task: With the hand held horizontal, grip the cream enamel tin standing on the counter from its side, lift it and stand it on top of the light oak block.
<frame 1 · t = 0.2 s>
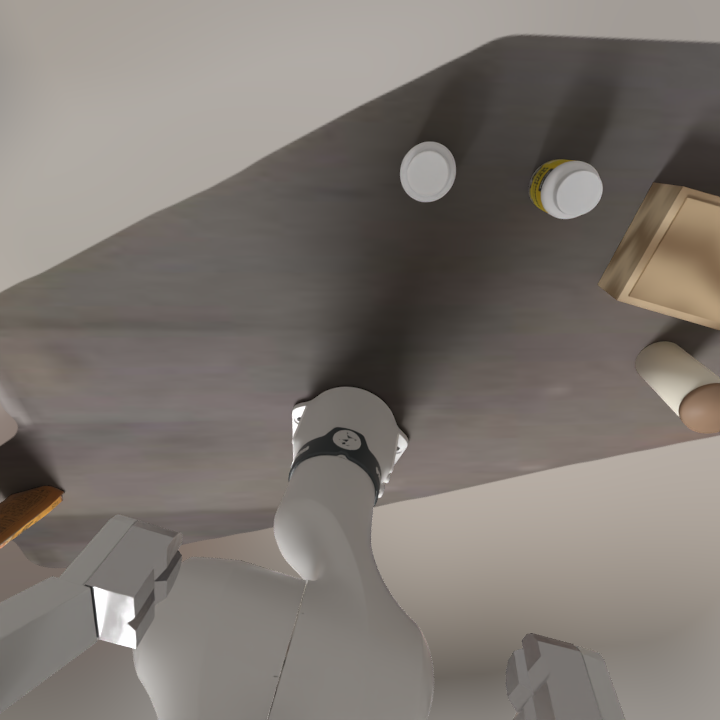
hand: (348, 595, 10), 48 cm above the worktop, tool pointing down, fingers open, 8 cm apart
oak block: (673, 251, 48), on the worktop
supplement bottle: (427, 169, 48), on the worktop
cream tin: (658, 360, 54), on the worktop
supplement bottle 2: (552, 185, 47), on the worktop
pancake mix bag: (34, 494, 86), on the worktop
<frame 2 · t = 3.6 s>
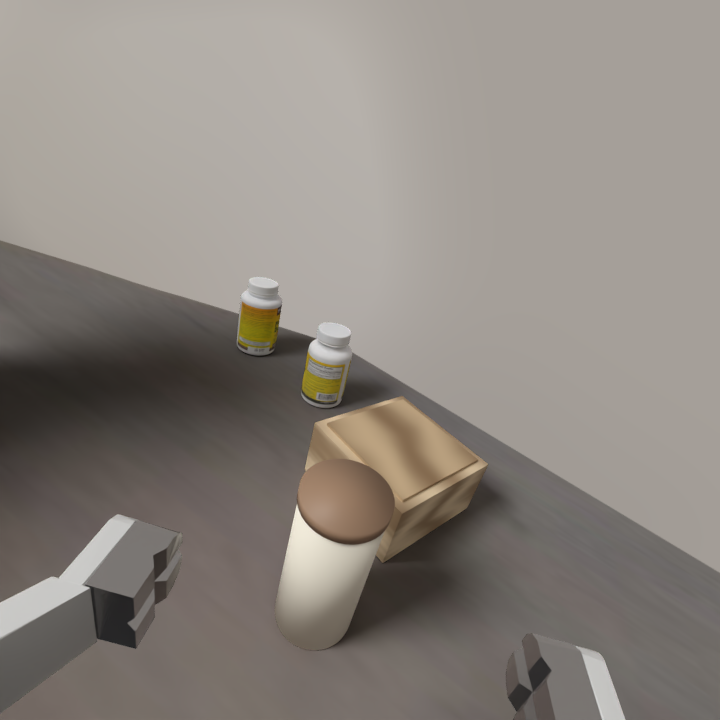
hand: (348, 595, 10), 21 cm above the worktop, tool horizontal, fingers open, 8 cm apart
oak block: (386, 488, 42), on the worktop
supplement bottle: (255, 349, 61), on the worktop
cream tin: (313, 608, 30), on the worktop
supplement bottle 2: (320, 398, 54), on the worktop
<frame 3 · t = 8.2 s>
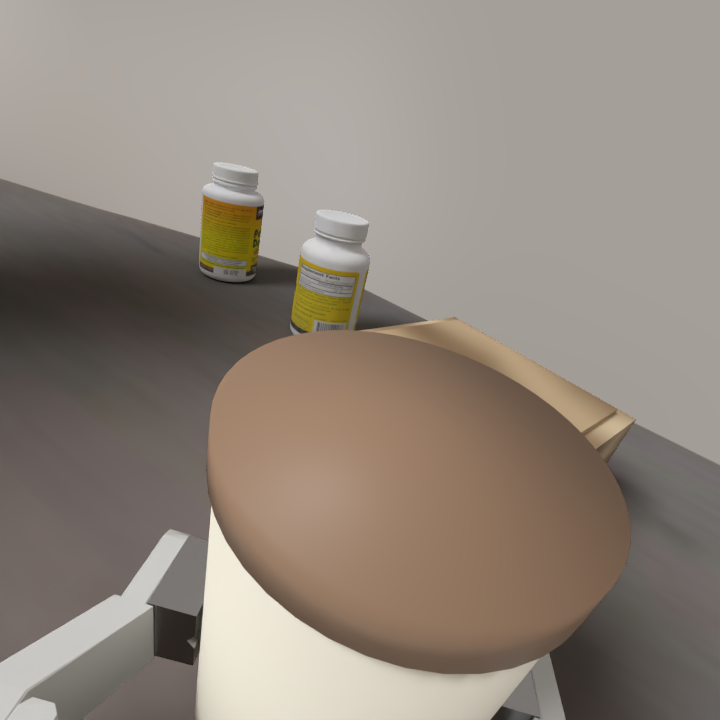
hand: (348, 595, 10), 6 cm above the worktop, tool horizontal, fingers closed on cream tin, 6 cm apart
oak block: (436, 467, 24), on the worktop
supplement bottle: (227, 276, 43), on the worktop
supplement bottle 2: (320, 336, 35), on the worktop
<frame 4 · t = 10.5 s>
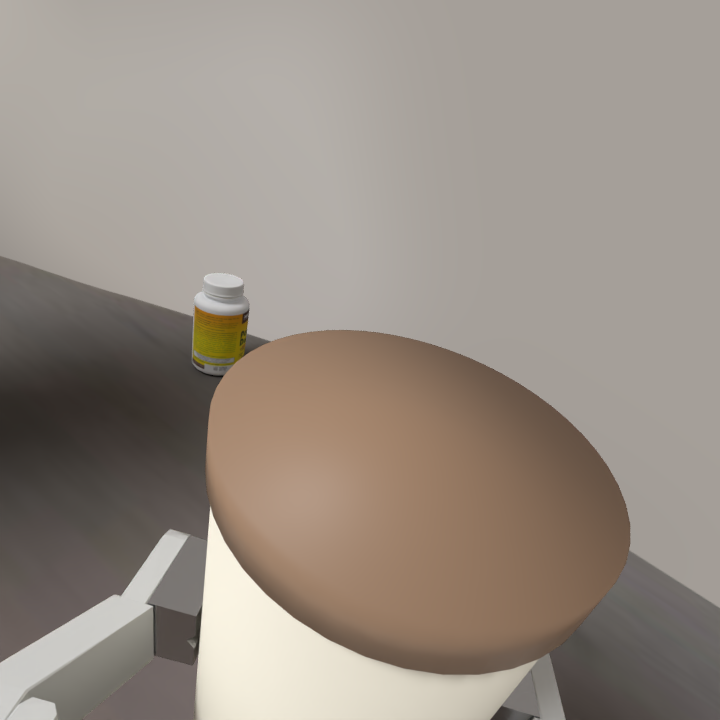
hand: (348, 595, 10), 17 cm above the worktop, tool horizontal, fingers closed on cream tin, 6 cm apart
supplement bottle: (217, 366, 48), on the worktop
when the fingers open (13 cm above the worktop, at t = 13.2 s): cream tin drops 1 cm, resting on oak block.
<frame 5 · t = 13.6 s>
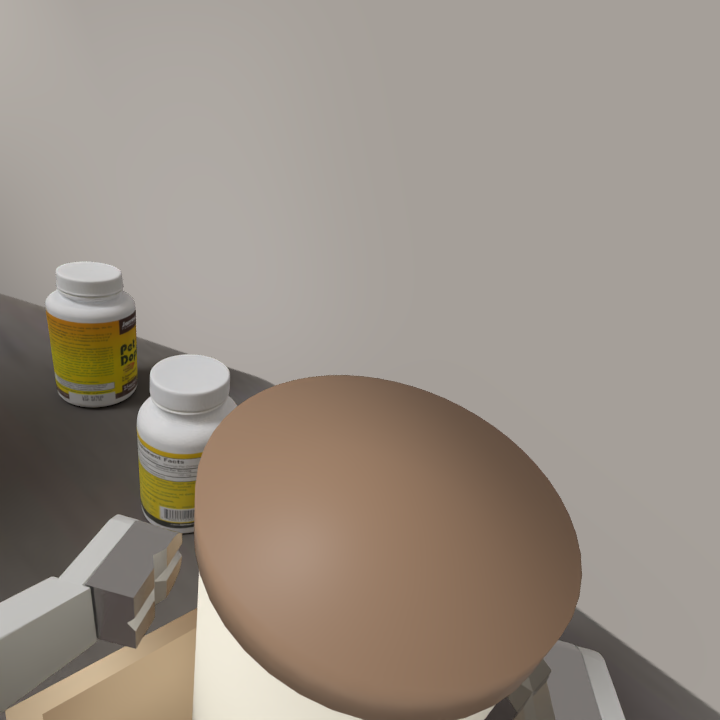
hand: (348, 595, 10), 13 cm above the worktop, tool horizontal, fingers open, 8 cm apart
supplement bottle: (99, 392, 34), on the worktop
supplement bottle 2: (187, 502, 27), on the worktop
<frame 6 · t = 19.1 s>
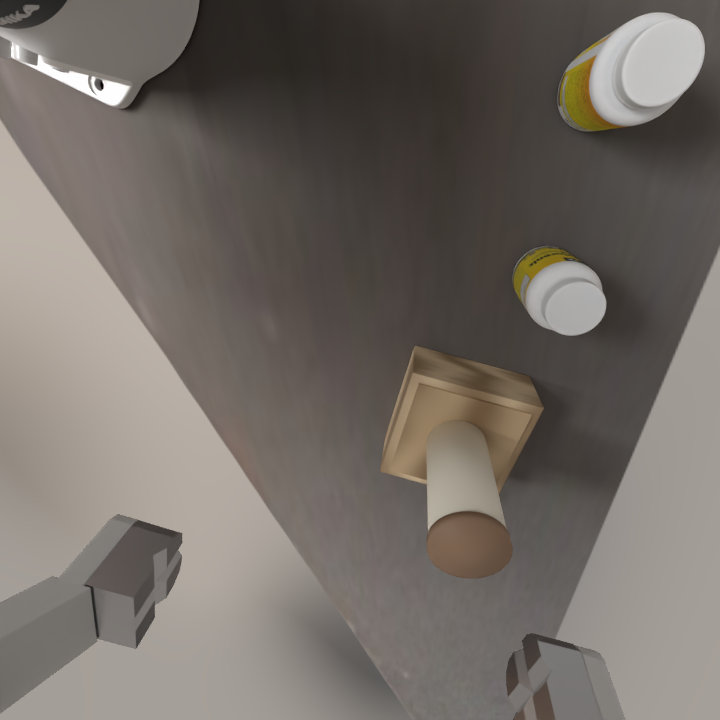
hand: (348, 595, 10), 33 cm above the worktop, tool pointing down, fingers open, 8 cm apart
oak block: (452, 408, 45), on the worktop
supplement bottle: (593, 90, 31), on the worktop
cream tin: (455, 445, 40), point 6 cm above the worktop, touching oak block
supplement bottle 2: (541, 273, 38), on the worktop
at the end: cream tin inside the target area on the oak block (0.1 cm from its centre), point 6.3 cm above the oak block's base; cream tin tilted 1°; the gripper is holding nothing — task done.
